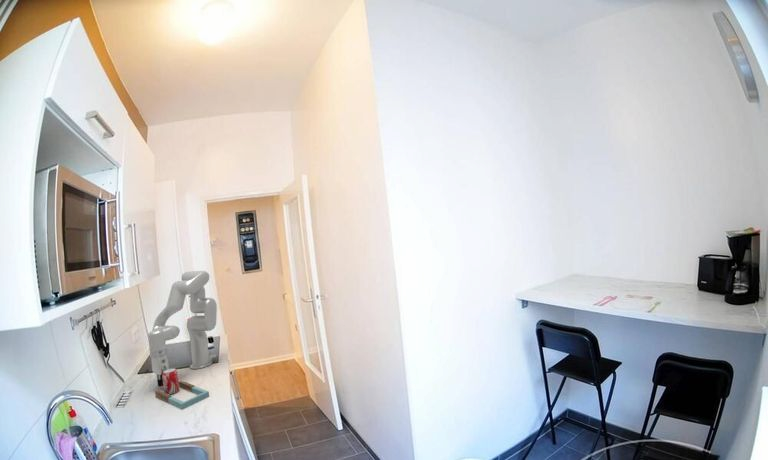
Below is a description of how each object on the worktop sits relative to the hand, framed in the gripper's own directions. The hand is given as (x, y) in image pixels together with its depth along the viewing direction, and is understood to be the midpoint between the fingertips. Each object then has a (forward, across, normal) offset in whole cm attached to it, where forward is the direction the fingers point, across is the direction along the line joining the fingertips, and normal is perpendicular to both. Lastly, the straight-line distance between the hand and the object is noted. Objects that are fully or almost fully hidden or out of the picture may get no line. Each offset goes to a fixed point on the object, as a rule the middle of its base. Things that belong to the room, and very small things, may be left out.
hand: (161, 385), depth 192 cm
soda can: (+2, -11, 0) cm, 11 cm away
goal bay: (+2, -28, 0) cm, 28 cm away
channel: (+2, -15, 0) cm, 15 cm away
